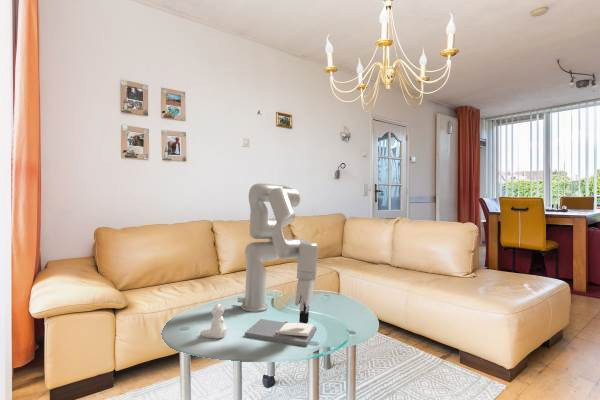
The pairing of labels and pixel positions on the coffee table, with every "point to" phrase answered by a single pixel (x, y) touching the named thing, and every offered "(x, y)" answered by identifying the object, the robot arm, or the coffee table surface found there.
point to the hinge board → (276, 333)
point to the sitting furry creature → (216, 324)
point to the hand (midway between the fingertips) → (303, 322)
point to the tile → (296, 329)
